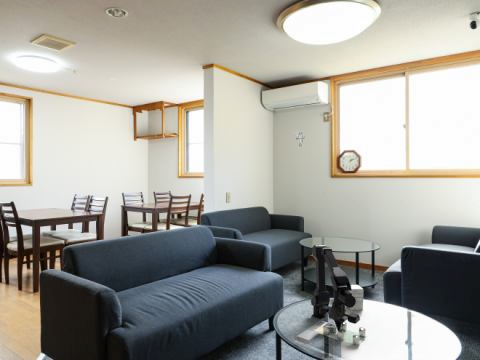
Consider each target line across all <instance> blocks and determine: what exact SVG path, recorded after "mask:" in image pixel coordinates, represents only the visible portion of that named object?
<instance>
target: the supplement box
mask: <svg viewBox="0 0 480 360" xmlns="http://www.w3.org/2000/svg"><path fill="white" fill-rule="evenodd" d="M351 289H352V291H349V292H351V293H352V296H354V297H355V300H356V303H355V305H354V306H353V307H352V308H349V309H350V310H351V311H362V310H361V309H364V288H363V287H361V285H359V284H351Z"/></svg>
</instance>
